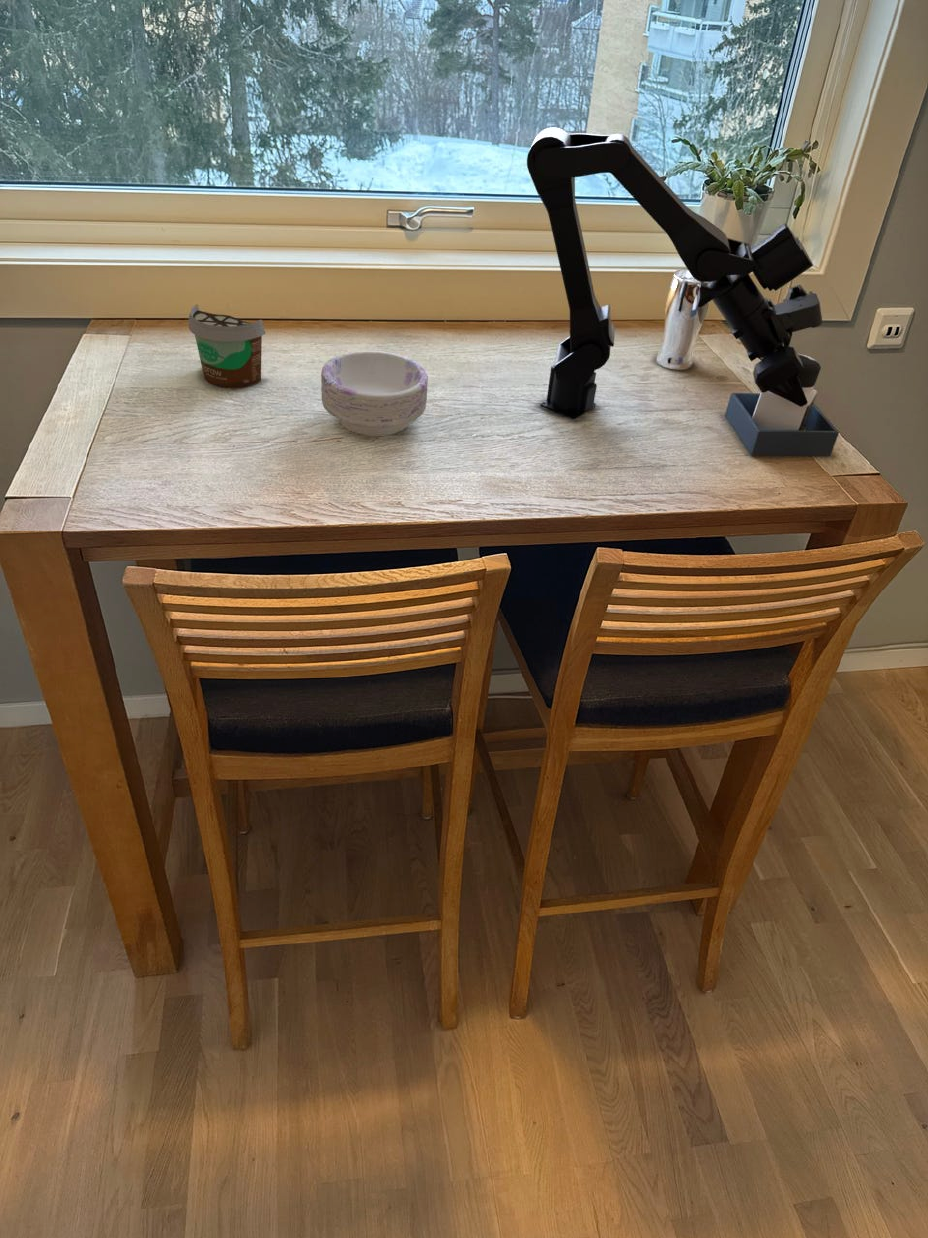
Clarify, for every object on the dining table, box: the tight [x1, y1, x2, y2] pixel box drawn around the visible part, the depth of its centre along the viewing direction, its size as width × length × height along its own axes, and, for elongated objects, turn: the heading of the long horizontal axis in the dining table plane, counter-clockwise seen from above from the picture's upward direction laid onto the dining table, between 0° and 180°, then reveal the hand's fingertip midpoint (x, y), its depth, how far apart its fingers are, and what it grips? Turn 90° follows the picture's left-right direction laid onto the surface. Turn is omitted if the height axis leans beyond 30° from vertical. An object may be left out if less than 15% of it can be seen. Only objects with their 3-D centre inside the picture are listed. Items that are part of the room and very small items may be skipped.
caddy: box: [724, 392, 840, 457], centre depth 137 cm, size 12×12×4 cm
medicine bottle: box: [752, 353, 822, 431], centre depth 135 cm, size 7×7×12 cm
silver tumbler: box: [656, 268, 711, 371], centre depth 152 cm, size 7×7×15 cm
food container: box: [187, 303, 267, 389], centre depth 136 cm, size 12×6×10 cm, turn 68°
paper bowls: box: [320, 350, 429, 437], centre depth 130 cm, size 15×15×8 cm
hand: (800, 392), depth 134 cm, fingers closed on medicine bottle, 8 cm apart
